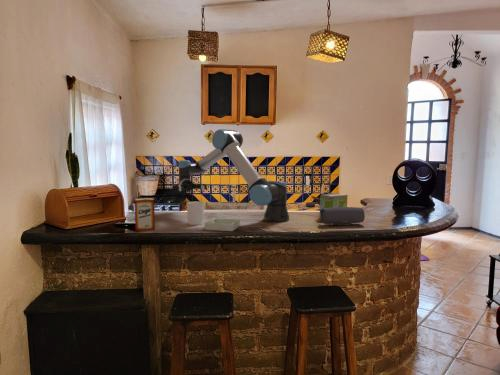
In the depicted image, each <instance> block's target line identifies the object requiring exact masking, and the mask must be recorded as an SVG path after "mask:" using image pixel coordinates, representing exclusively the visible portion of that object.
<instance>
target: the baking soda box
mask: <svg viewBox="0 0 500 375" xmlns="http://www.w3.org/2000/svg"><path fill="white" fill-rule="evenodd" d="M155 219H156V218H155V198H152V197H149V198H147V197H144V198H134V223H135V224H134V225H135V229H134V230H135V232H139V231H154V230H156V227H155V226H156V225H155Z"/></svg>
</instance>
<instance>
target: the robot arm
mask: <svg viewBox="0 0 500 375" xmlns="http://www.w3.org/2000/svg"><path fill="white" fill-rule="evenodd" d="M211 143H212V146H213V148H214V149H213V150H212V151H210V152H209V153H207V154H206V155H204V156H203V157H202V158H201V159H199V160H198V161H197V162H191V161H190V160H187V159H185V160H184V159H181V160H179V161H178V183H177V184H173V185H172V190H174V191H176V192H182V190H183V191H184V192H188V193H189V192H191V191H193V190H197V189H198V190H201V191H205V190H207V189H208V187H207V186H208V185H207V184H205V183H202V184H201V183H200V184H199V183H194V182H193V181H192V180H191V175H196V174H197V175H199V174H205V173H206V171H207V169H209V168H210V167H212V166H213V165H214V164H216V163H217V162H218V161H220V160H222V159H223V158H225V157H226V156H227V157H228V159H229V160H230V161H231V163H232V164H233V166H234V167H235V168H236V169H237V171H238V173H239V174H240V175H241V177H242V179H243V180H244V181H245V182H246V184H247V185H248V192H249V199H250V200H251V202H252V203H253V204H255V205H256V206H266V209H265V211H264V214H263V220H264V221H266V222H272V223H273V222H274V223H275V222H276V223H278V222H279V223H281V222H288V221H290V215H289V212H288V207H287V200H288V198H287V197H288V196H287V194H288V193H287V192H288V188H287V186H288V185H287V183H286V182H285V181H280V180H279V181H277V180H267V179H266V177H262V176H261V175H260V173H258V171H257V169H256V168H255V167H254V165H253V164H252V162H251V161H250V160H249V158H248V157H247V155H246V154H244V151H242V149H241V147H242V145H243V143H244V138H243V135H242V134H241V133H240V132H239V131H238V130H234V129H233V130H232V129H224V128H221V129H217V130H215V131H214V133H213V134H212V137H211Z"/></svg>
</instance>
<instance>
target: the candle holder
mask: <svg viewBox="0 0 500 375" xmlns="http://www.w3.org/2000/svg"><path fill="white" fill-rule="evenodd" d="M186 211H187V212H186V213H187V224H188V225H190V226H199V225H203V224H204V216H205V214H204V213H205V202H204V201H198V200H197V201H187V202H186Z"/></svg>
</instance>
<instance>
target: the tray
mask: <svg viewBox="0 0 500 375" xmlns="http://www.w3.org/2000/svg"><path fill="white" fill-rule="evenodd" d="M239 227H241V219H240V218H226V217H225V218H224V217H222V218H220V217H214V218H212V219H209V220H208V221H206V222H204V230H207V231H221V232H222V231H224V232H234V231H235V230H236V229H238V228H239Z"/></svg>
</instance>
